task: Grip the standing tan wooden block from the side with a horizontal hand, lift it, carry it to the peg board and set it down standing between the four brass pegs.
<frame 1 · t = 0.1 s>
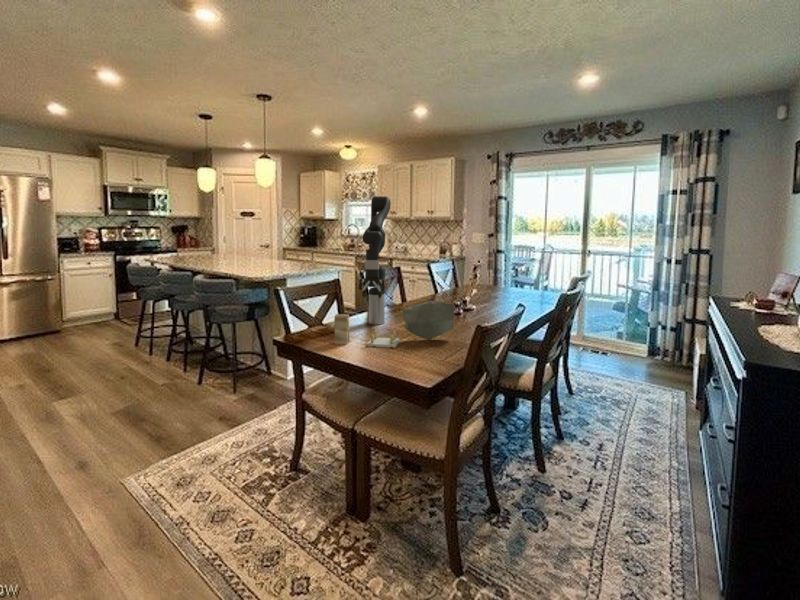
hand: (371, 297, 238), 17 cm above the table, tool pointing down, fingers open, 8 cm apart
rock: (428, 340, 220), on the table
peg board: (383, 343, 213), on the table
tan wooden block: (342, 343, 213), on the table
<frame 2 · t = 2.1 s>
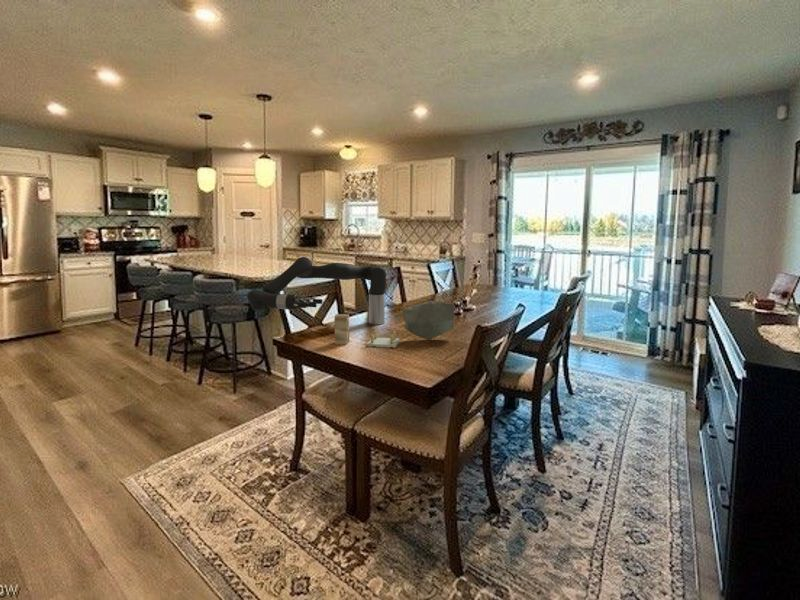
hand: (319, 303, 211), 19 cm above the table, tool horizontal, fingers open, 8 cm apart
nothing on the table moved.
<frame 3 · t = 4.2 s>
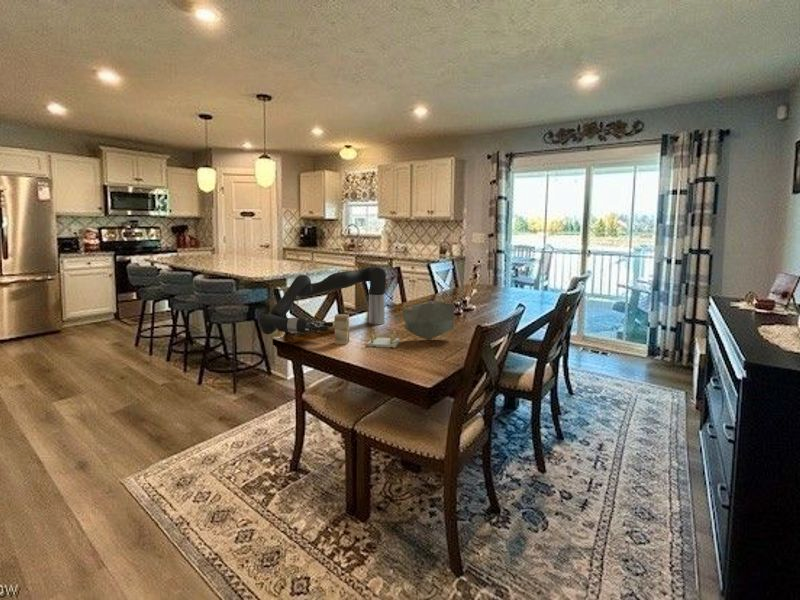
hand: (330, 326, 212), 8 cm above the table, tool horizontal, fingers open, 8 cm apart
nothing on the table moved.
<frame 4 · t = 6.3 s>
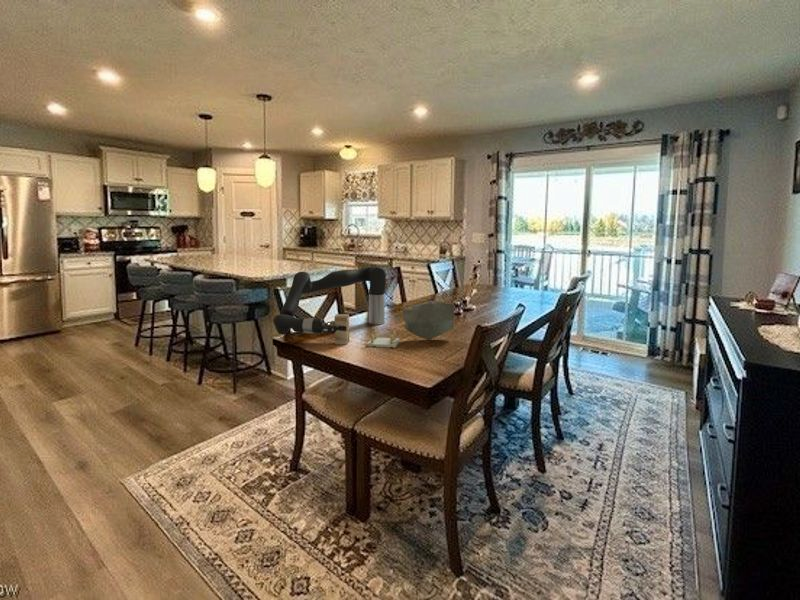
hand: (347, 327, 211), 8 cm above the table, tool horizontal, fingers closed on tan wooden block, 4 cm apart
tan wooden block: (342, 343, 213), on the table, touching gripper
everything else where it was.
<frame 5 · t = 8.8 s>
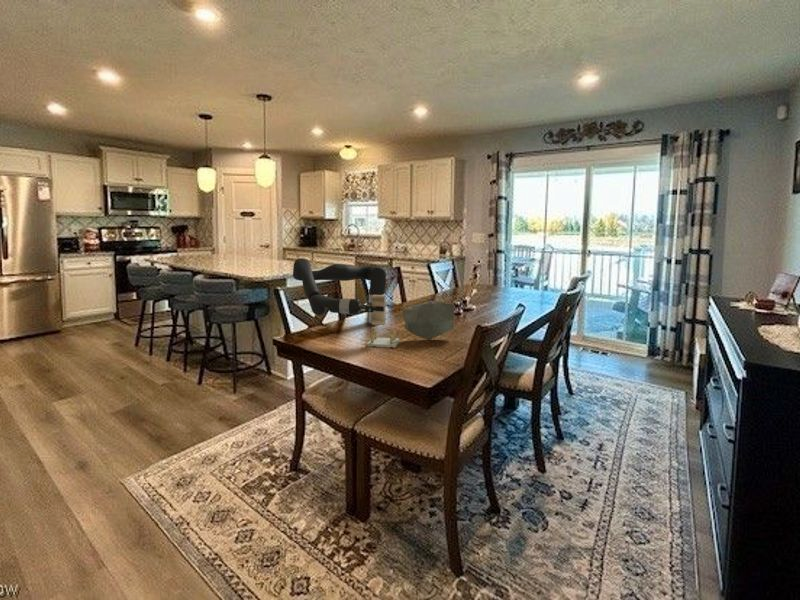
hand: (384, 308, 209), 18 cm above the table, tool horizontal, fingers closed on tan wooden block, 4 cm apart
tan wooden block: (378, 323, 211), point 10 cm above the table, touching gripper
everything else where it was.
when the fingers open (10 cm above the table, at t = 11.1 s): tan wooden block drops 1 cm, resting on peg board.
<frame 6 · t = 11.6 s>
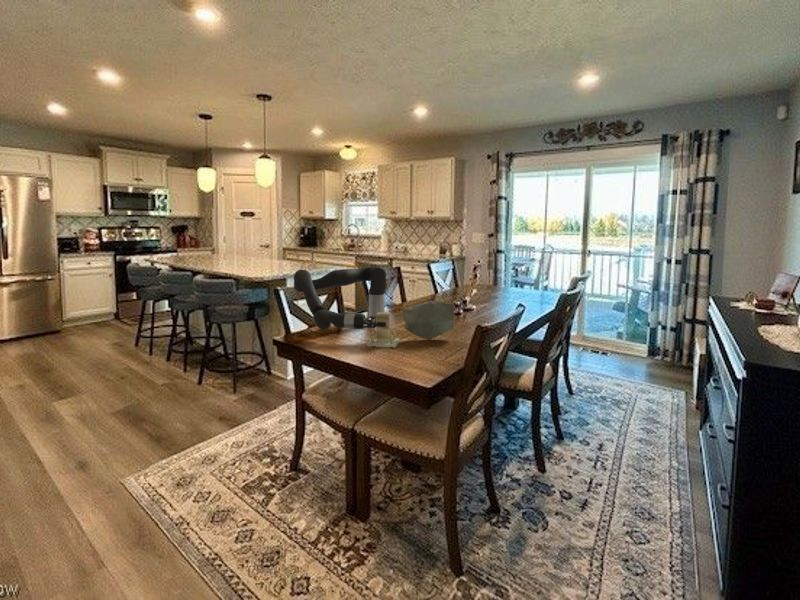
hand: (387, 322, 210), 11 cm above the table, tool horizontal, fingers open, 8 cm apart
tan wooden block: (383, 341, 212), point 1 cm above the table, touching peg board
everything else where it was.
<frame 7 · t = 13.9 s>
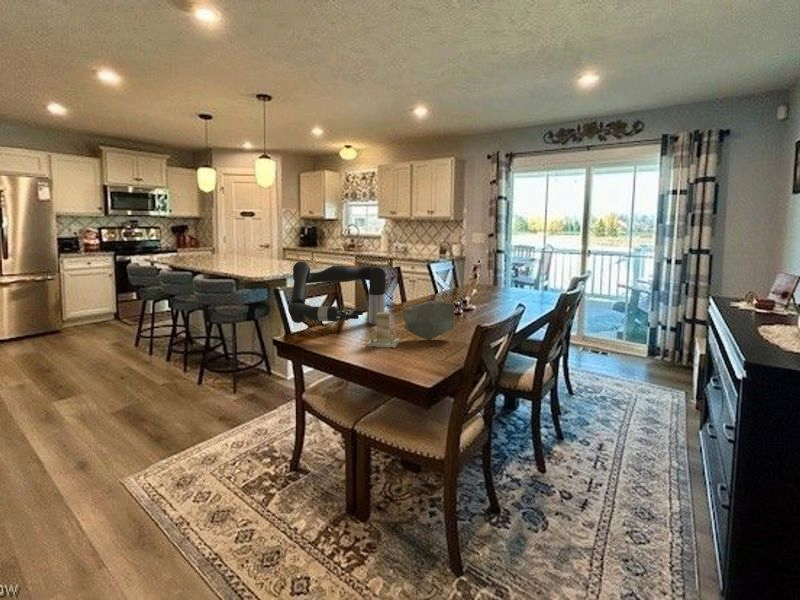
hand: (360, 314, 213), 14 cm above the table, tool horizontal, fingers open, 8 cm apart
nothing on the table moved.
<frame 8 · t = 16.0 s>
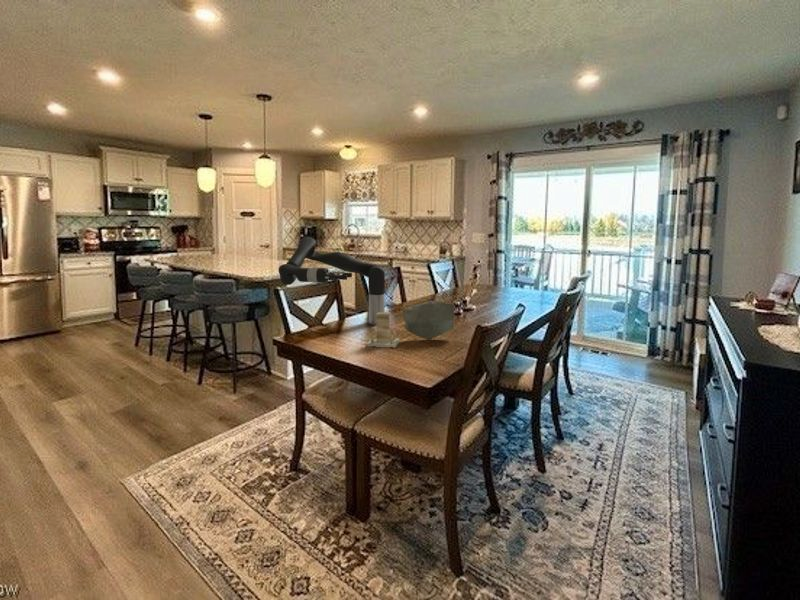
hand: (349, 276, 214), 32 cm above the table, tool horizontal, fingers open, 8 cm apart
nothing on the table moved.
at the end: tan wooden block 0.1 cm off-centre on the peg board, point 1.2 cm above the peg board's base; tan wooden block tilted 0°; the gripper is holding nothing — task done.
